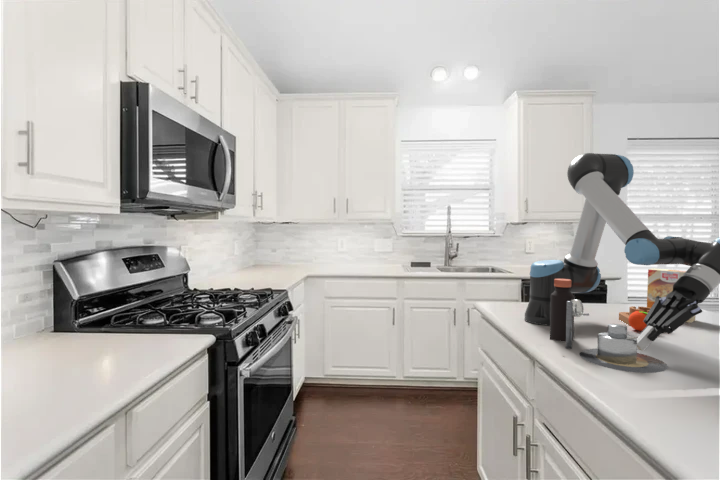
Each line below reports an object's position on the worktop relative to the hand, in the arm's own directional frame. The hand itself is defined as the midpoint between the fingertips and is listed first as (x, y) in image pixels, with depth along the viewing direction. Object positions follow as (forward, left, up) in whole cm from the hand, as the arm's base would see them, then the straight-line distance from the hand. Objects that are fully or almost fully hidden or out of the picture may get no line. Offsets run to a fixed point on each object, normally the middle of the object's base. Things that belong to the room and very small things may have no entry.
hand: (637, 346), depth 112 cm
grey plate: (0, -5, -5) cm, 7 cm away
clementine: (-32, +28, -5) cm, 43 cm away
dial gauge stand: (-11, -11, -5) cm, 16 cm away
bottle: (-21, -9, -5) cm, 23 cm away
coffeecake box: (-49, +55, -5) cm, 74 cm away
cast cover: (-1, -6, -3) cm, 7 cm away
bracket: (-42, +35, -5) cm, 55 cm away
